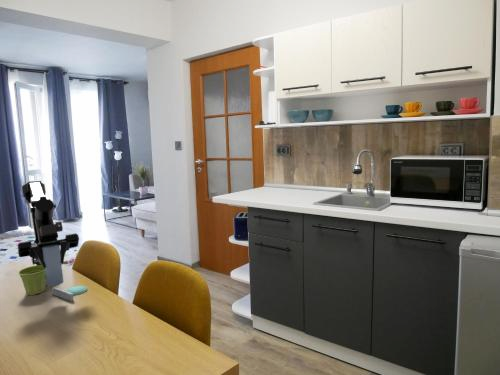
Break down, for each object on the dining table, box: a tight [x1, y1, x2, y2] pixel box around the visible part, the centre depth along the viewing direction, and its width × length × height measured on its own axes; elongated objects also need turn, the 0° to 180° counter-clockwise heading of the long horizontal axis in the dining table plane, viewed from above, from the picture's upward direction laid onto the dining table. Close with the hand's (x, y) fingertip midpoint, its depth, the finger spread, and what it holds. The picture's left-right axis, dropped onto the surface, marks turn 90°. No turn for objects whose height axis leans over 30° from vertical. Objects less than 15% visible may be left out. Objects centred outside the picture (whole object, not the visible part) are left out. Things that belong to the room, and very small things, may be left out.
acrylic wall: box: [51, 286, 75, 302], centre depth 134 cm, size 12×1×2 cm, turn 56°
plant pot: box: [17, 265, 46, 296], centre depth 139 cm, size 9×9×9 cm
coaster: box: [64, 285, 88, 296], centre depth 139 cm, size 8×8×1 cm
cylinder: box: [42, 244, 64, 287], centre depth 129 cm, size 5×5×13 cm
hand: (53, 265), depth 128 cm, fingers closed on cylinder, 5 cm apart
